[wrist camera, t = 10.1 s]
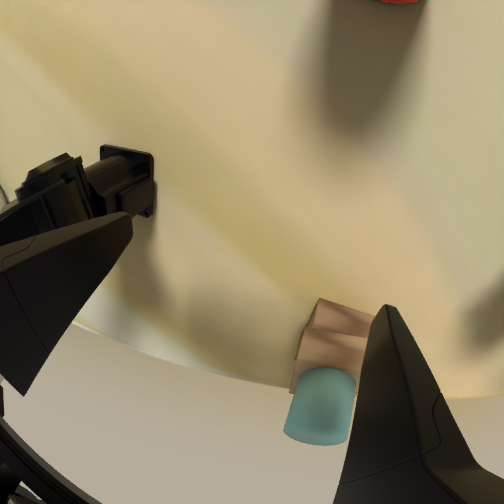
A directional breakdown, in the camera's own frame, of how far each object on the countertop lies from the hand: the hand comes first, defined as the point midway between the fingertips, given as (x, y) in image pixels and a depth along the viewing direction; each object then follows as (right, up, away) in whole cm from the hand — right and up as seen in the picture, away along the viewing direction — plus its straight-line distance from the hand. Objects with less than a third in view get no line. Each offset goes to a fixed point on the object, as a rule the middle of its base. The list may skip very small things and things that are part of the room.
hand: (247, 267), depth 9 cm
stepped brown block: (+8, -9, +16) cm, 20 cm away
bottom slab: (+9, -7, +18) cm, 21 cm away
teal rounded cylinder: (+6, -11, +13) cm, 18 cm away
